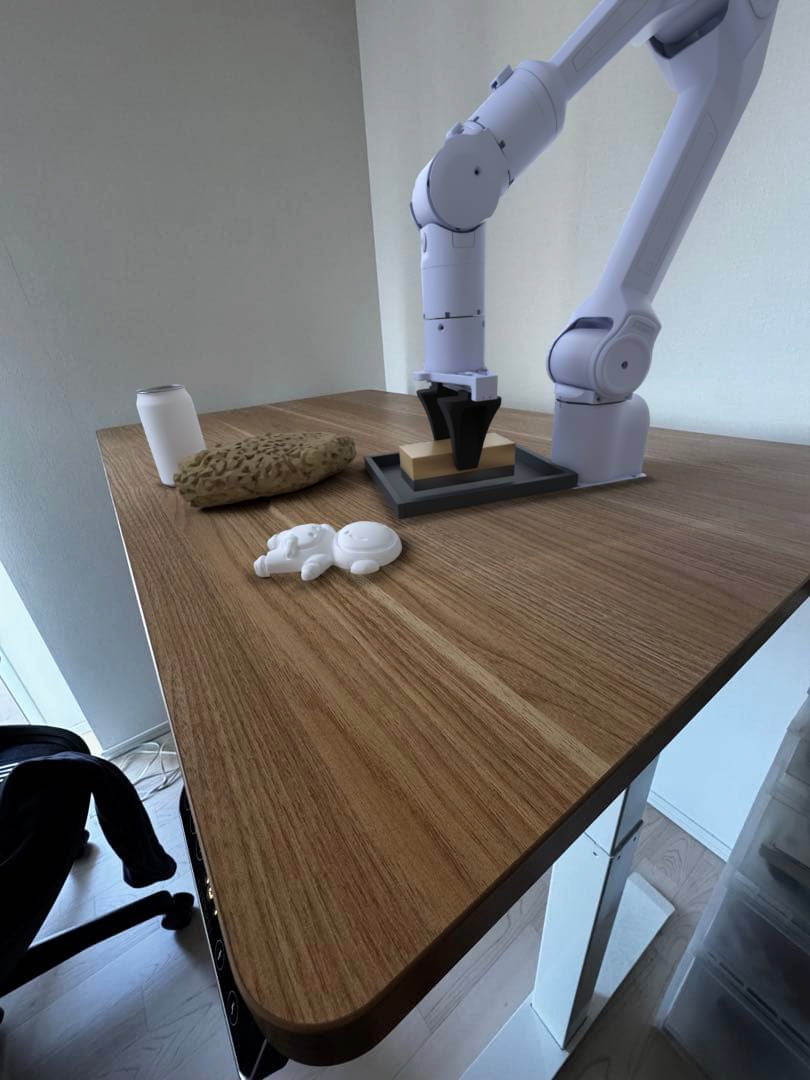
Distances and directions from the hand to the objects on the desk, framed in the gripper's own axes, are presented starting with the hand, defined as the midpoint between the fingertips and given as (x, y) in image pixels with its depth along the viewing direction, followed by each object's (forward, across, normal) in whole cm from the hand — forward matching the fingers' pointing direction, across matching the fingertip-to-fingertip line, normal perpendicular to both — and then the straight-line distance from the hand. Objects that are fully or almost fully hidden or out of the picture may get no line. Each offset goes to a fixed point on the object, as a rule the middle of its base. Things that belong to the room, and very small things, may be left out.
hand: (456, 461), depth 47 cm
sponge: (+4, -11, -19) cm, 23 cm away
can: (+4, -21, -31) cm, 38 cm away
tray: (+4, -4, +2) cm, 6 cm away
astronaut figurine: (+4, +9, -15) cm, 18 cm away
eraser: (+2, 0, 0) cm, 2 cm away
